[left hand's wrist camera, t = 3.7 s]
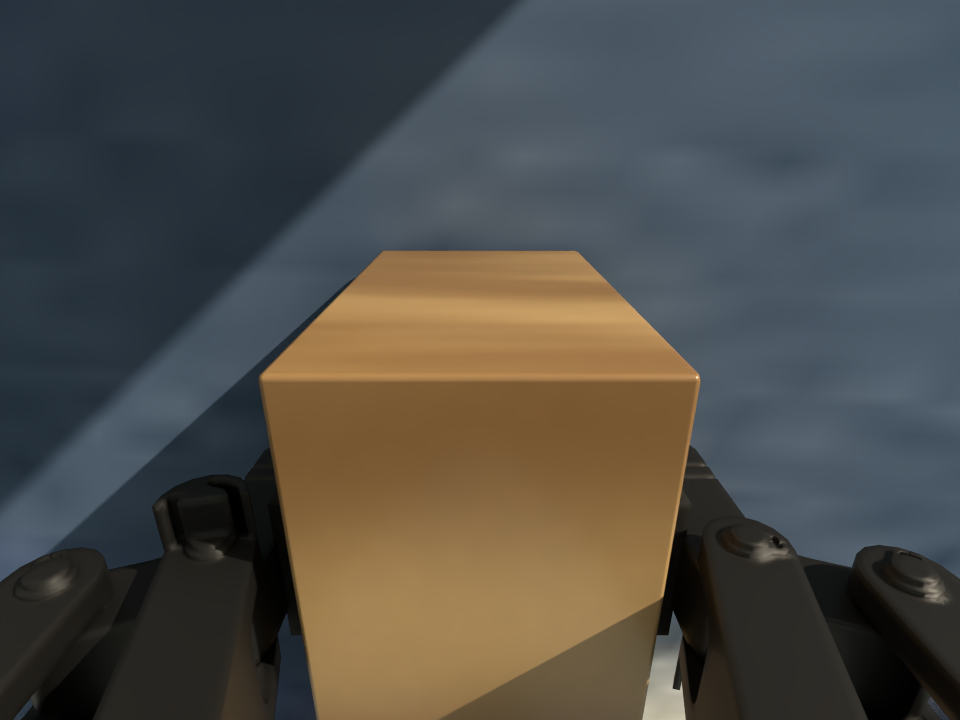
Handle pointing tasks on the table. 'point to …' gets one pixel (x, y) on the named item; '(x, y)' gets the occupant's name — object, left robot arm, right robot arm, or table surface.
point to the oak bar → (479, 488)
